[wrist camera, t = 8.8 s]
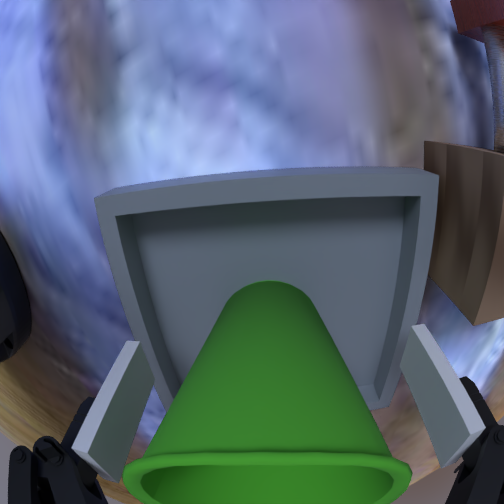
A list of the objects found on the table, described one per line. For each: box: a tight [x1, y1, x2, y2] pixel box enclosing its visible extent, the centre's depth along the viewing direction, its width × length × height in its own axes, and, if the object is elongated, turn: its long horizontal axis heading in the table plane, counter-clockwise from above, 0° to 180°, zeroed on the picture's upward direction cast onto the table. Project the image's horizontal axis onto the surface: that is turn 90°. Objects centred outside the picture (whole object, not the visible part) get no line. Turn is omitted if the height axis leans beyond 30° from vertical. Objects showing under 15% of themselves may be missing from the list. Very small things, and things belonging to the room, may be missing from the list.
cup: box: [122, 280, 412, 504], centre depth 11 cm, size 9×9×11 cm
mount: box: [424, 141, 504, 326], centre depth 11 cm, size 7×7×6 cm
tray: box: [94, 167, 439, 412], centre depth 16 cm, size 16×16×2 cm
